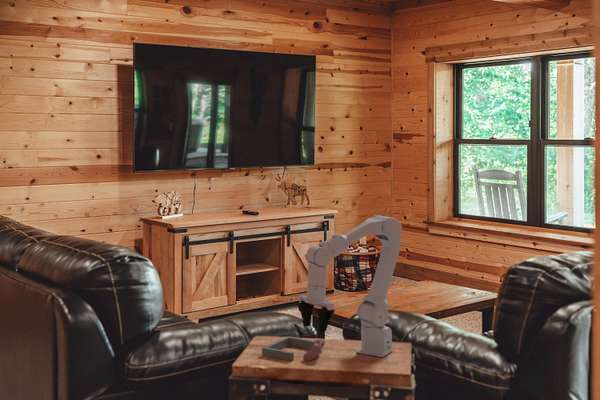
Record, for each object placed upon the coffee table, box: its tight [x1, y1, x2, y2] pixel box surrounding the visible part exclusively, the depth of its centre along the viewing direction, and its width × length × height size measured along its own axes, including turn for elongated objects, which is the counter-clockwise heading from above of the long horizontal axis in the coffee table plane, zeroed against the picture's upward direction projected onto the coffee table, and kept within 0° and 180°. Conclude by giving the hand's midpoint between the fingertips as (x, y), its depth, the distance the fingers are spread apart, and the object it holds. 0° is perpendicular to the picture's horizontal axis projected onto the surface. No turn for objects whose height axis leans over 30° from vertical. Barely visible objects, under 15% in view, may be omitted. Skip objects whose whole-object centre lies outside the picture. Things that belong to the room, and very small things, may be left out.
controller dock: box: [261, 336, 315, 362], centre depth 239 cm, size 11×15×2 cm
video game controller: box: [302, 337, 326, 362], centre depth 234 cm, size 10×5×7 cm, turn 169°
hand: (314, 328), depth 229 cm, fingers open, 7 cm apart
